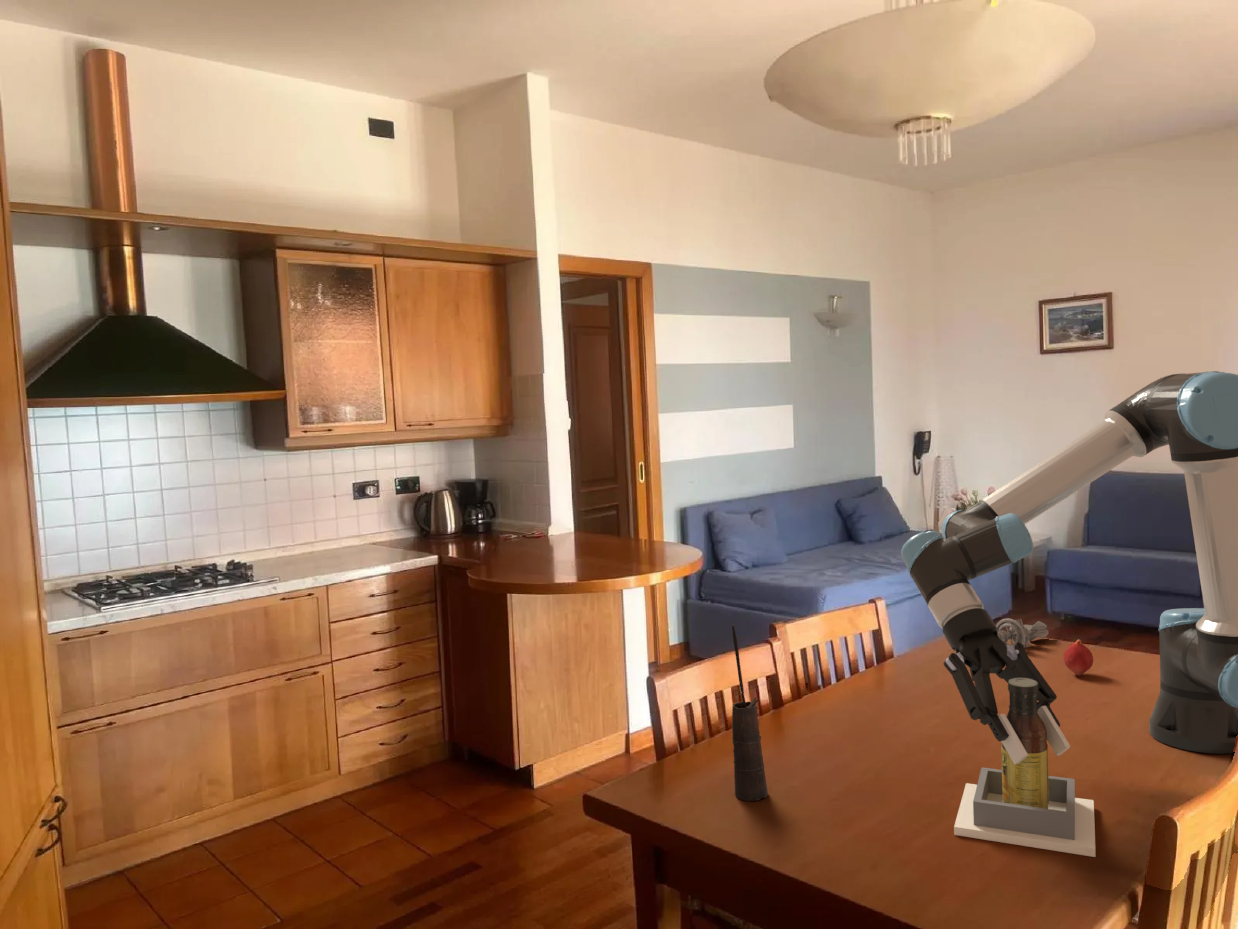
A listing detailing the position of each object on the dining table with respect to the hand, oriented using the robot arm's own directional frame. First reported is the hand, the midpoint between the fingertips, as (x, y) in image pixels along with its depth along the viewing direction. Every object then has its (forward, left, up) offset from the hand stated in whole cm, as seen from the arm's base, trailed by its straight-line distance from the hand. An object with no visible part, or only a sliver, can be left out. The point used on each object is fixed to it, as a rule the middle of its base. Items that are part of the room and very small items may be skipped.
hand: (1042, 755), depth 131 cm
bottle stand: (+2, -2, -11) cm, 12 cm away
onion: (-5, -79, -11) cm, 80 cm away
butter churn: (+42, +2, -11) cm, 44 cm away
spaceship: (+10, -95, -11) cm, 96 cm away
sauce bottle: (+2, -3, -10) cm, 11 cm away
